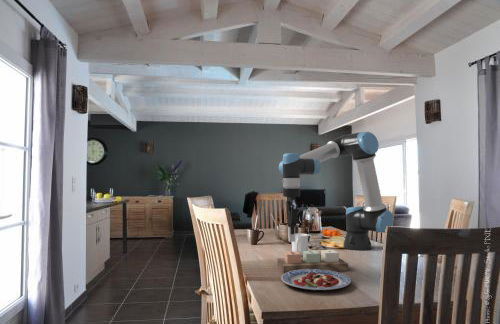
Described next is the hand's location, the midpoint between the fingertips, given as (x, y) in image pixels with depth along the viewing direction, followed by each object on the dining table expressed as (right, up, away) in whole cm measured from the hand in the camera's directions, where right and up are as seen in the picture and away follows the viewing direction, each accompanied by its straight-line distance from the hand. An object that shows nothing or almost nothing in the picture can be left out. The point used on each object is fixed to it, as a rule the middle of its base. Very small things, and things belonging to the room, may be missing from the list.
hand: (291, 241), depth 151 cm
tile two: (+9, -10, +1) cm, 13 cm away
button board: (+9, -12, 0) cm, 15 cm away
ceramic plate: (+6, -11, -22) cm, 25 cm away
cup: (+7, -13, +25) cm, 30 cm away
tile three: (0, -10, 0) cm, 10 cm away
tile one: (+17, -9, +2) cm, 20 cm away
